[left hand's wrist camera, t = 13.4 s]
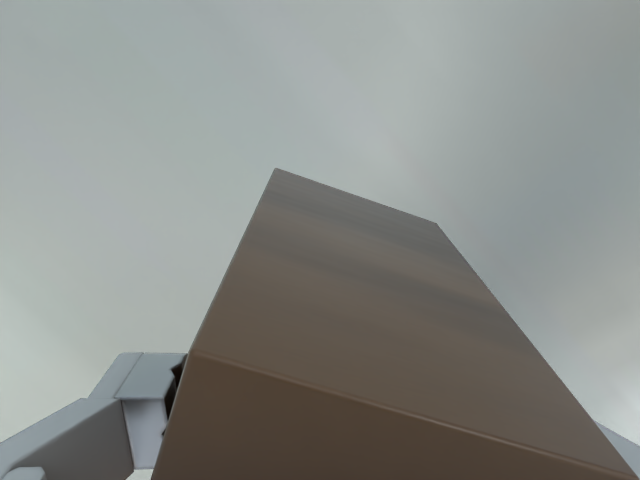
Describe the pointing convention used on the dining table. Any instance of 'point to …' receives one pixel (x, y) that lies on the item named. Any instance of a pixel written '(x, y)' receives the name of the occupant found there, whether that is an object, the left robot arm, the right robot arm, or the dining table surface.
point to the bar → (367, 361)
